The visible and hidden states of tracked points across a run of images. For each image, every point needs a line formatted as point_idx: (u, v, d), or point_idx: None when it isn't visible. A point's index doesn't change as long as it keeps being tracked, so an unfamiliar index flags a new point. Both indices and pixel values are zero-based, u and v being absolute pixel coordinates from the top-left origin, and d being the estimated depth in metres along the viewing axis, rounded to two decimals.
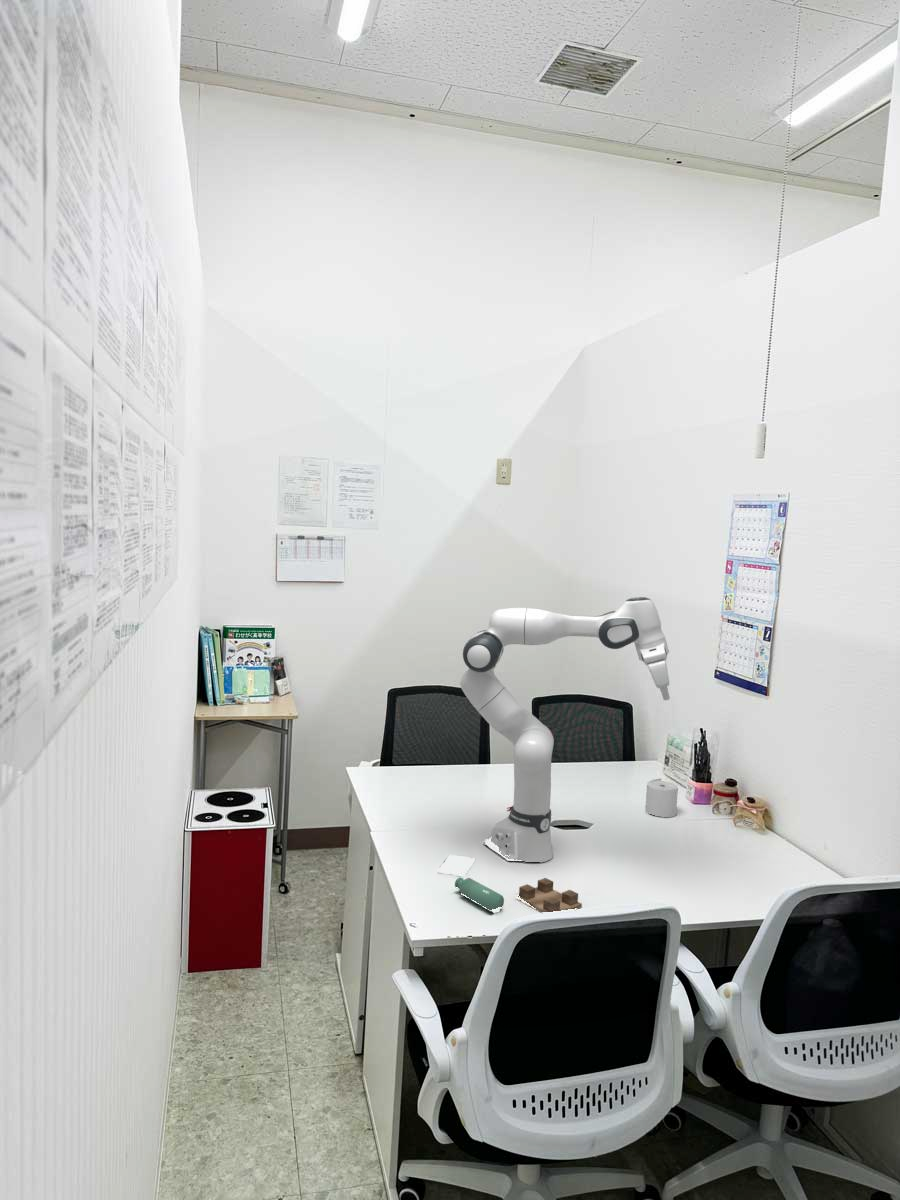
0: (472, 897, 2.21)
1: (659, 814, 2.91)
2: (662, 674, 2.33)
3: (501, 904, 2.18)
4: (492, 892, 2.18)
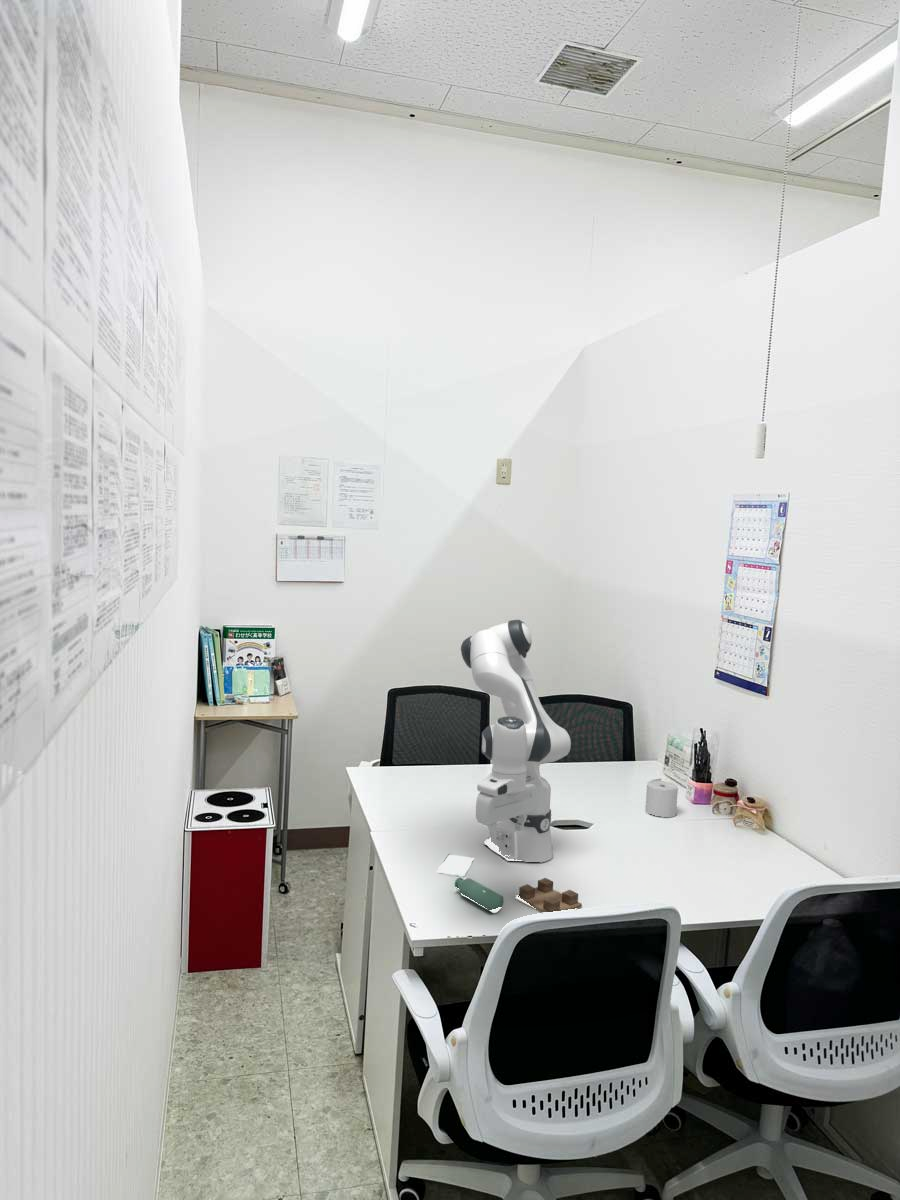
0: (471, 897, 2.21)
1: (659, 814, 2.91)
2: (483, 810, 2.08)
3: (501, 904, 2.18)
4: (491, 892, 2.18)
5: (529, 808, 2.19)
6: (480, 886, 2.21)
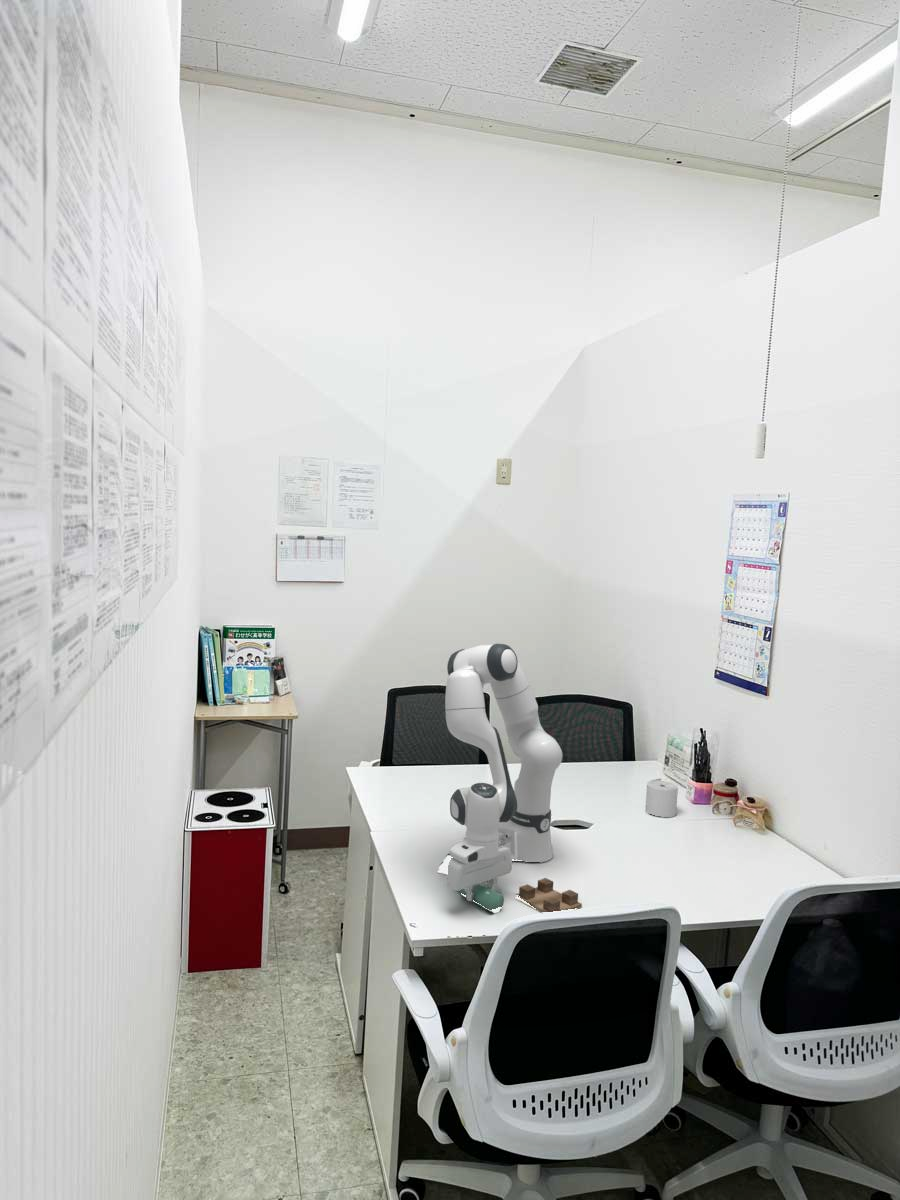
0: None
1: (659, 814, 2.91)
2: (453, 876, 2.14)
3: (501, 904, 2.18)
4: (492, 892, 2.18)
5: (502, 871, 2.24)
6: (480, 886, 2.21)
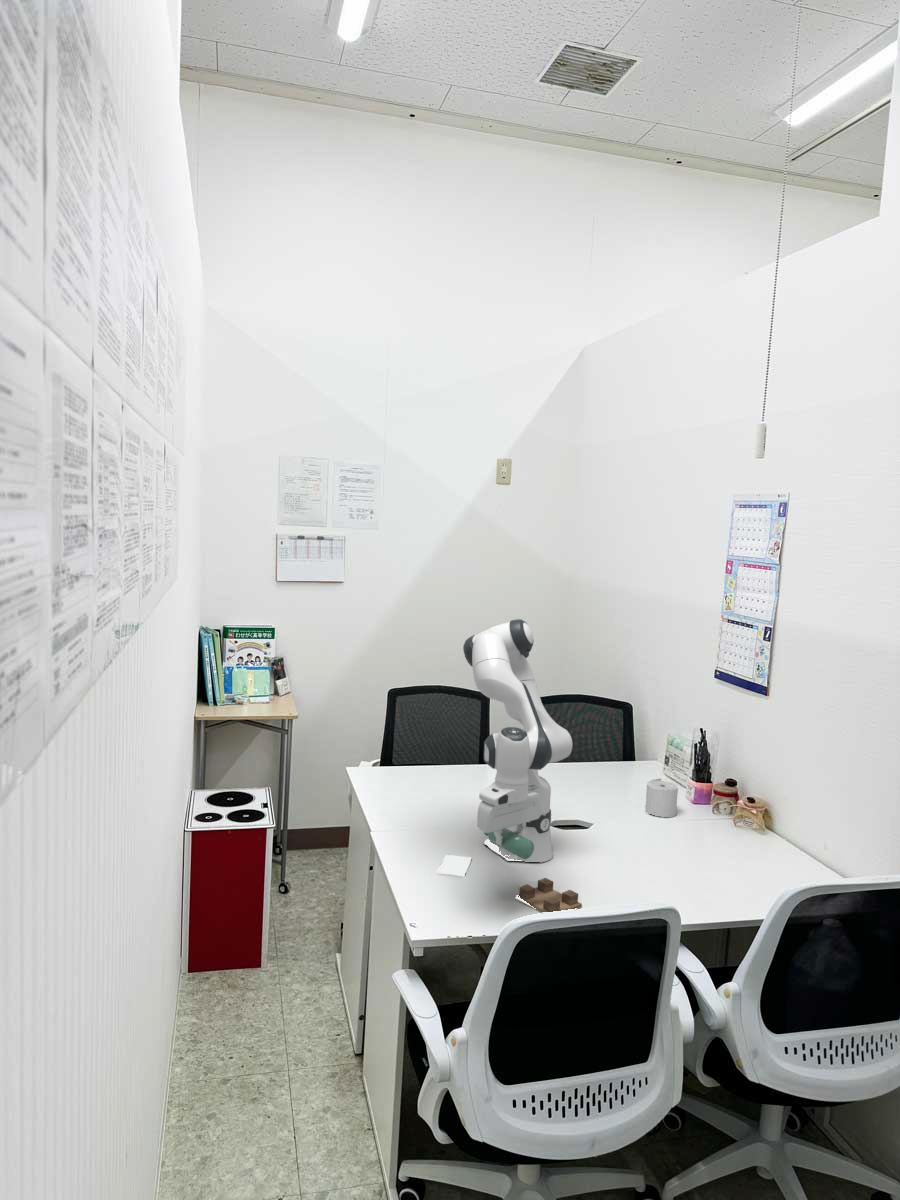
0: None
1: (659, 814, 2.91)
2: (483, 819, 2.14)
3: (531, 851, 2.17)
4: (523, 838, 2.17)
5: (532, 816, 2.23)
6: (511, 832, 2.21)
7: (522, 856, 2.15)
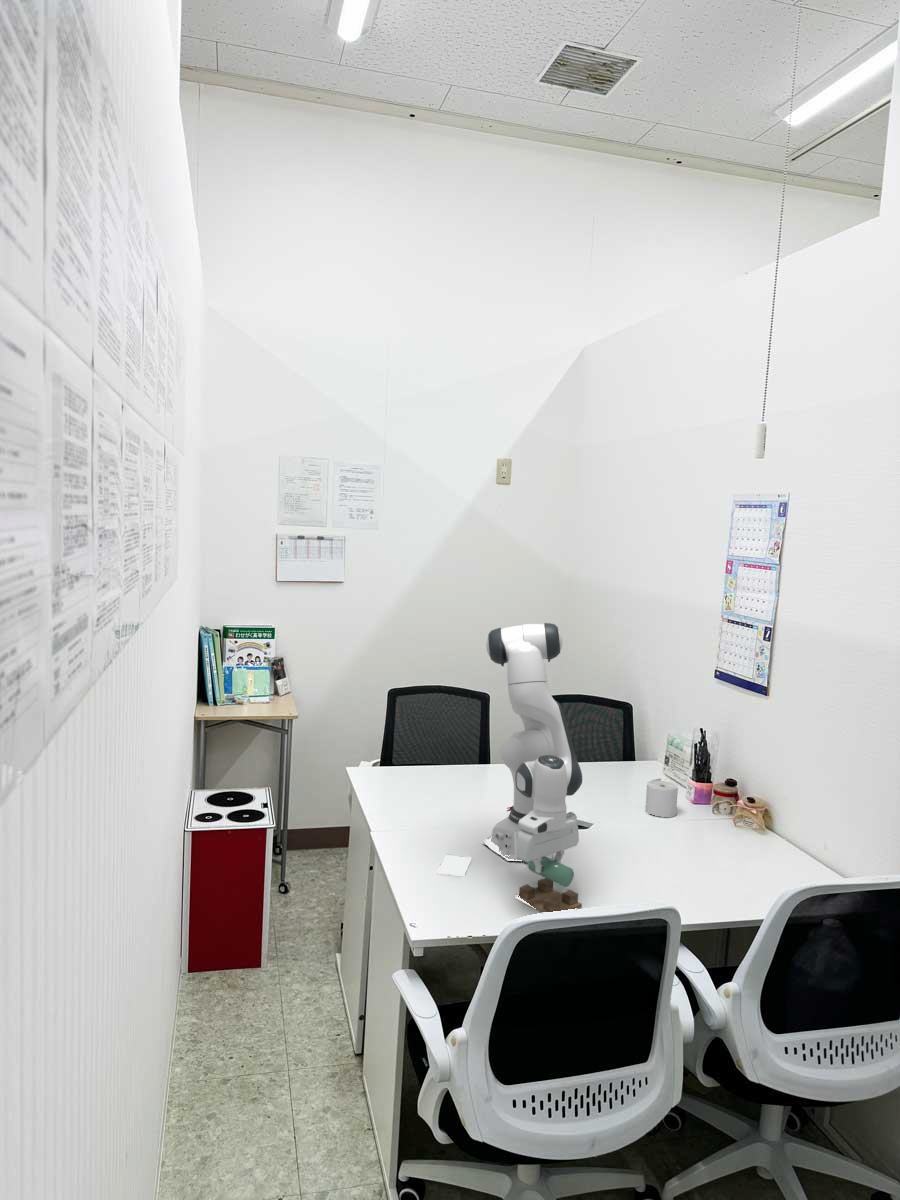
0: None
1: (659, 814, 2.91)
2: (523, 847, 2.15)
3: (571, 878, 2.18)
4: (563, 865, 2.19)
5: (570, 843, 2.25)
6: (550, 860, 2.22)
7: (563, 884, 2.17)
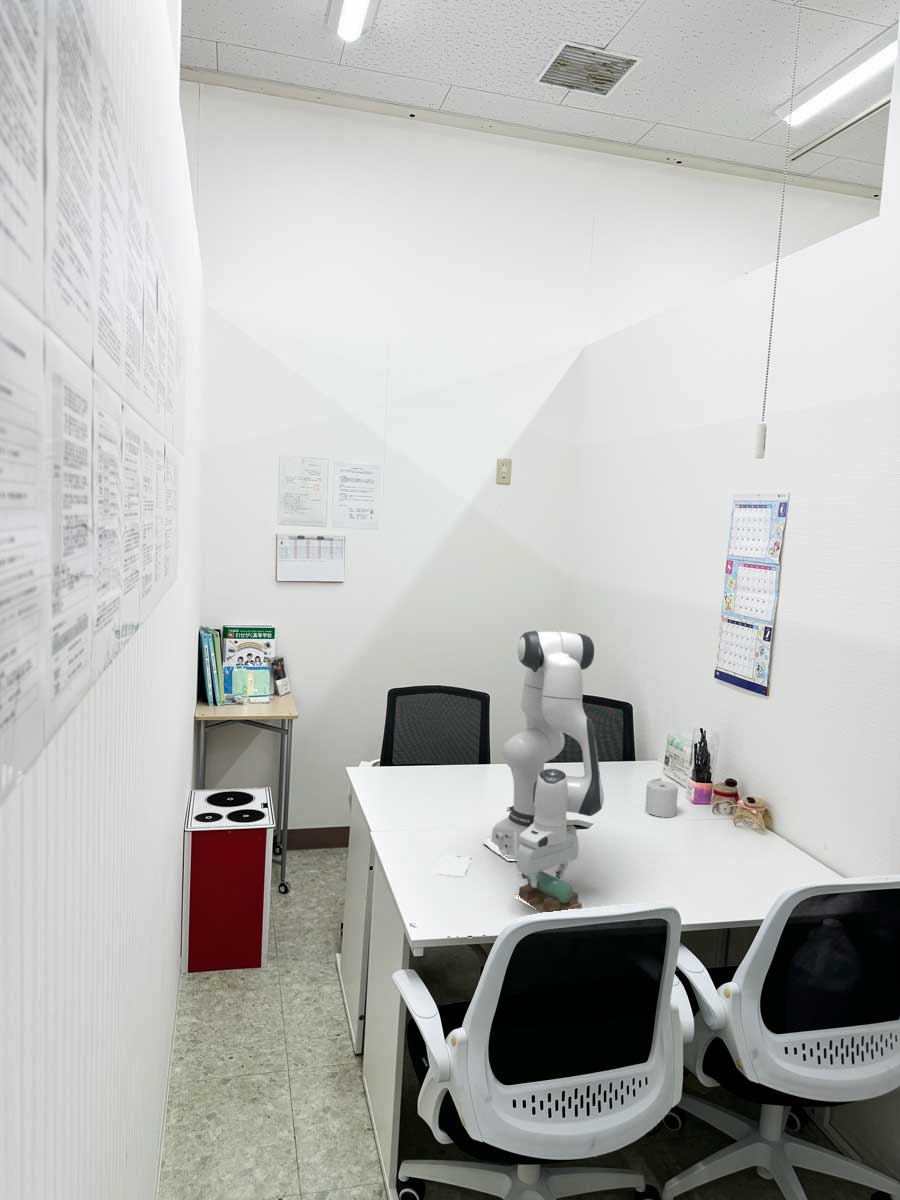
0: (540, 886, 2.22)
1: (659, 814, 2.91)
2: (523, 861, 2.16)
3: (570, 894, 2.19)
4: (562, 882, 2.19)
5: (569, 856, 2.26)
6: (549, 876, 2.23)
7: (562, 900, 2.18)
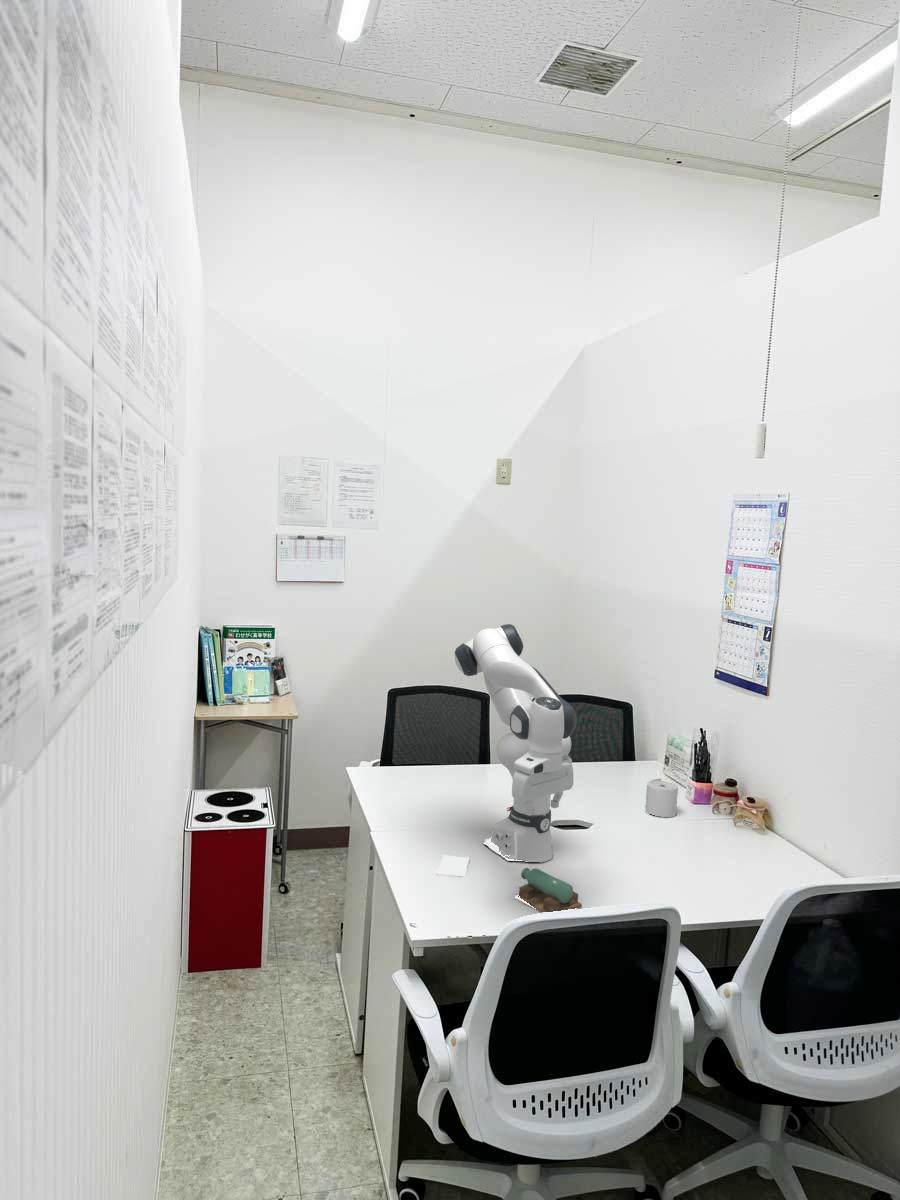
0: (540, 886, 2.22)
1: (659, 814, 2.91)
2: (519, 788, 2.13)
3: (570, 894, 2.19)
4: (562, 882, 2.19)
5: (564, 786, 2.23)
6: (549, 876, 2.23)
7: (562, 900, 2.18)
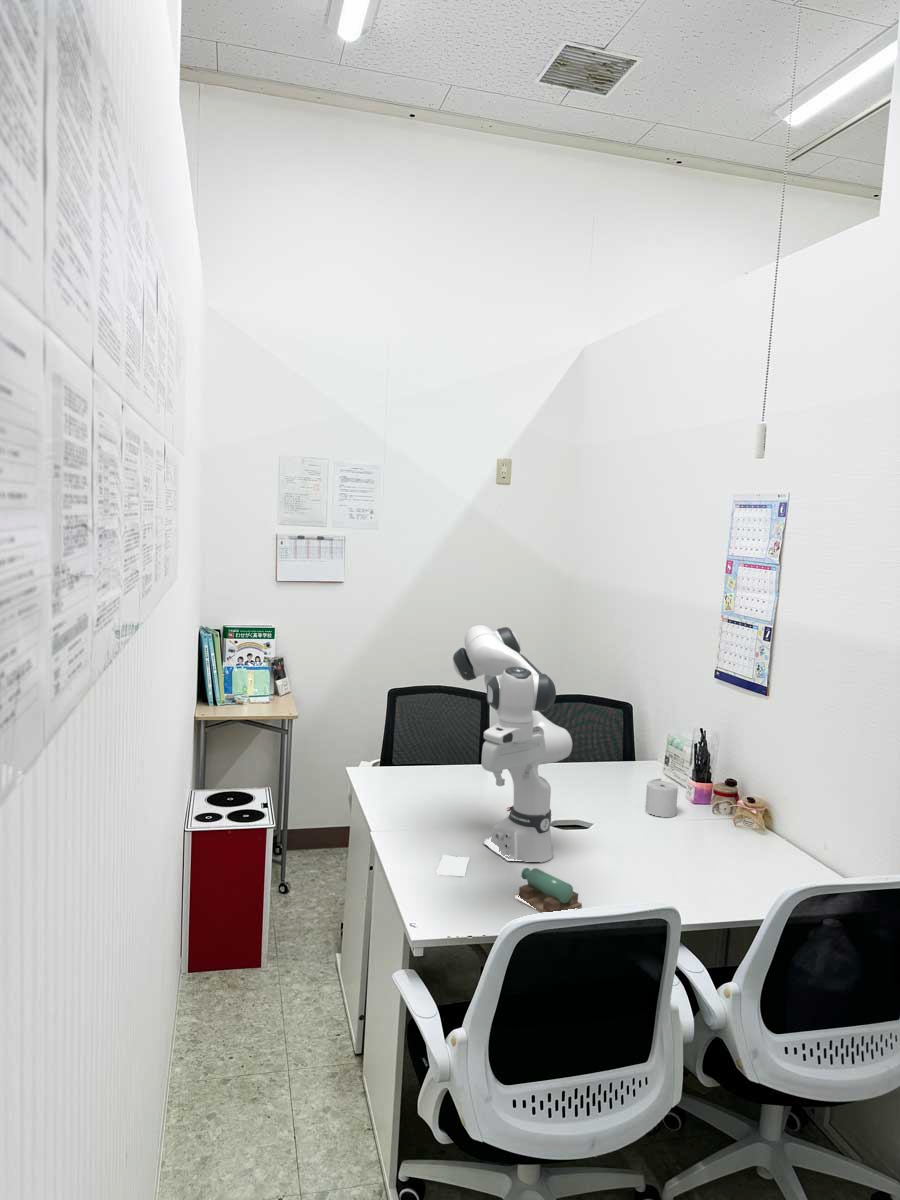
0: (540, 886, 2.22)
1: (659, 814, 2.91)
2: (488, 757, 2.12)
3: (570, 894, 2.19)
4: (562, 882, 2.19)
5: (536, 757, 2.21)
6: (549, 876, 2.23)
7: (562, 900, 2.18)
